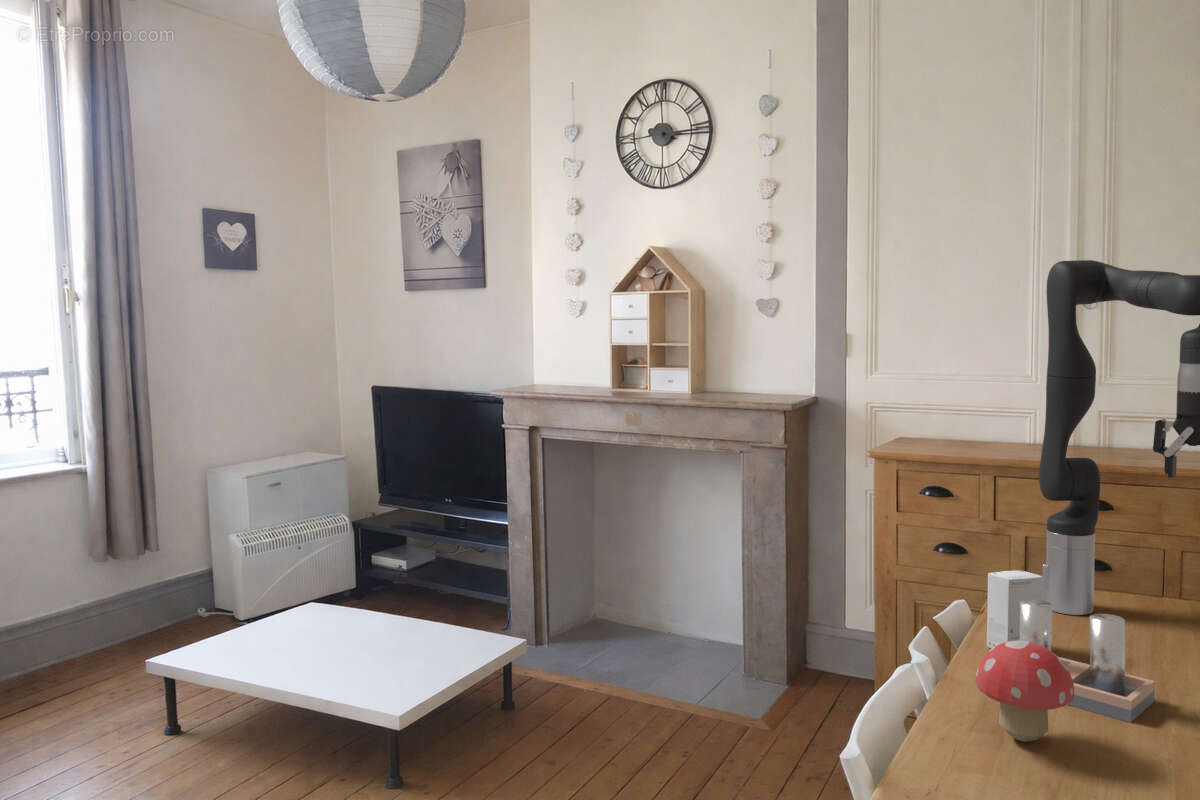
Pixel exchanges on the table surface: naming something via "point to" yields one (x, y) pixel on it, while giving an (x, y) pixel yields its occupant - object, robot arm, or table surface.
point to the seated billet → (1036, 622)
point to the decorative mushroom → (1024, 686)
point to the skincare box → (1009, 603)
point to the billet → (1107, 653)
